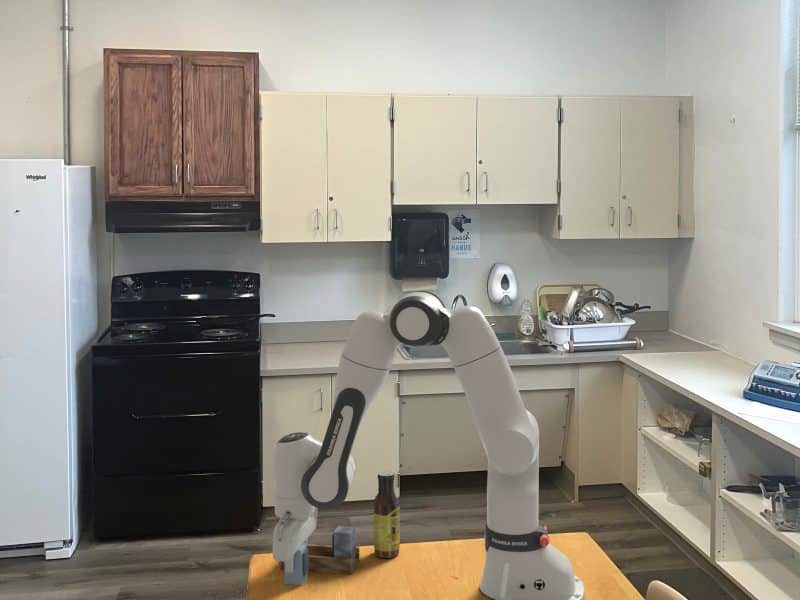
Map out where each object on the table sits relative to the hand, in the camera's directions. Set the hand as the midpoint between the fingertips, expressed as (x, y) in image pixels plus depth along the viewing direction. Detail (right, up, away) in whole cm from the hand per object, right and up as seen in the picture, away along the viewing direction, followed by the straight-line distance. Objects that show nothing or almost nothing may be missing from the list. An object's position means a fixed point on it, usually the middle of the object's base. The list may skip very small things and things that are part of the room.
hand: (295, 564), depth 197 cm
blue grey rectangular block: (0, -4, -1) cm, 4 cm away
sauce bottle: (+20, -2, +14) cm, 25 cm away
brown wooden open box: (+5, -3, +7) cm, 9 cm away
